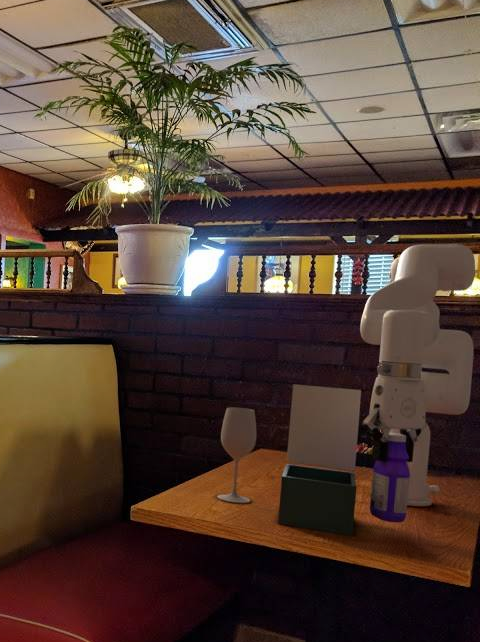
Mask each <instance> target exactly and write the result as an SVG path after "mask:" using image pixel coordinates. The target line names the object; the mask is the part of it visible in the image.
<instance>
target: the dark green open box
mask: <svg viewBox="0 0 480 642" xmlns="http://www.w3.org/2000/svg"><path fill="white" fill-rule="evenodd" d="M280 481H281V482H280V492H279V493H280V494H279V507H278V521H277V524H278V525H279V524H280V525H283V526H284V525H285V526H291V527H297V528H303V529H310V530H316V531H321V532H327V533H334V534H340V535H346V536H353V533H354V522H355V510H356V498H357V479H356V474H355V472H352V471H344V470H336V469H331V468H329V469H328V468H323V467H315V466H314V467H313V466H305V465H299V464H298V465H297V464H289V463H286V465H285V467H284V470H283V472H282V475H281V480H280Z"/></svg>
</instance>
